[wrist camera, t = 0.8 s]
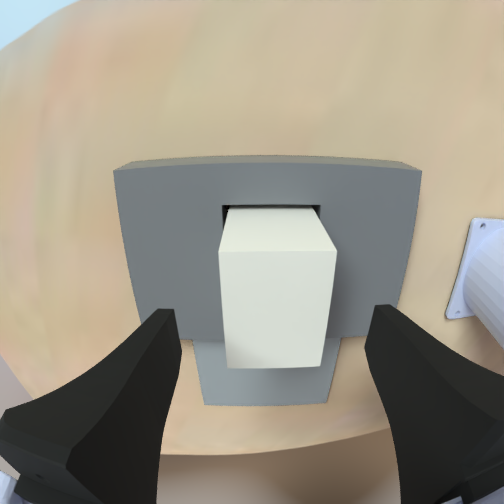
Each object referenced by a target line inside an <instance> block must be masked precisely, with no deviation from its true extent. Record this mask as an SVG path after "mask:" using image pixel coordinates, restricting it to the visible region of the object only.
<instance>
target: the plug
mask: <svg viewBox="0 0 504 504" xmlns="http://www.w3.org/2000/svg"><path fill="white" fill-rule="evenodd" d="M218 254H219V270H220V284H221V298H222V312H223V324H224V336H225V348H226V360H227V368H296V367H316V366H320V364H321V358H322V353H323V347H324V341H325V335H326V329H327V323H328V316H329V310H330V303H331V296H332V288H333V281H334V273H335V264H336V256H337V250H336V248H335V246H334V244H333V243H332V241H331V239H330V237H329V236H328V234H327V232H326V230H325V228H324V227H323V225H322V223H321V221H320V220H319V218H318V216H317V215H316V213H315V211H314V209H313V208H312V206H311V205H295V204H261V205H230V206H229V210H228V214H227V218H226V222H225V226H224V231H223V235H222V239H221V243H220V247H219V251H218Z"/></svg>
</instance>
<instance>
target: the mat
mask: <svg viewBox="0 0 504 504" xmlns="http://www.w3.org/2000/svg"><path fill="white" fill-rule="evenodd" d="M340 341H341V338H325V341H324V347H323V353H322V358H321V364H320V366H316V367H296V368H227V360H226V348H225V340H193V346H194V352H195V358H196V363H197V369H198V374H199V380H200V385H201V390H202V395H203V400H204V405H220V406H279V405H302V404H317V403H326V401H327V397H328V393H329V389H330V385H331V381H332V377H333V373H334V368H335V364H336V360H337V355H338V350H339V346H340Z"/></svg>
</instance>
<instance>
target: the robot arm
mask: <svg viewBox="0 0 504 504" xmlns="http://www.w3.org/2000/svg"><path fill="white" fill-rule="evenodd" d="M481 224H482V227H481V228H480V226H481ZM445 315H446V317H447V318H448V319H455V318H463V317H469V316H477V317H478V318H479V320H480V321H481V322H482V323H483V325H484V326H485V327H486V328H487V329H488V331H489V332H490V333H491V334H492V336H493V337H494V338H495V339H496V341H497V342H498V343H499V345H500V346H501V347H502V348H503V350H504V219H491V218H474V219H473V220H472V221H471V224H470V228H469V233H468V237H467V241H466V246H465V250H464V254H463V257H462V261H461V265H460V269H459V272H458V276H457V279H456V282H455V286H454V289H453V292H452V295H451V298H450V301H449V304H448V307H447V310H446V314H445ZM364 348H365V352H366V356H367V361H368V365H369V369H370V372H371V374H372V377H373V380H374V382H375V385H376V387H377V390H378V393H379V395H380V398H381V400H382V403H383V406H384V408H385V411H386V414H387V417H388V420H389V423H390V427H391V431H392V436H393V441H394V445H395V451H396V457H397V463H398V471H399V480H400V491H401V492H400V493H401V504H504V376H502V375H500V374H497V373H495V372H492V371H490V370H488V369H486V368H484V367H481V366H479V365H477V364H475V363H474V362H472V361H470V360H468V359H466V358H465V357H463V356H461V355H459V354H458V353H456V352H455V351H453V350H451V349H450V348H448V347H447V346H446V345H444V344H443V343H441V342H440V341H438V340H437V339H436V338H434V337H433V336H431V335H430V334H429V333H427V332H426V331H425V330H423V329H422V328H421V327H420V326H418V325H417V324H416V323H414V322H413V321H412V320H411V319H409V318H408V317H407V316H405V315H404V314H403V313H401V312H400V311H399V310H397V309H396V308H395V307H393V306H392V305H390V304H384V305H375V307H374V311H373V315H372V319H371V323H370V327H369V331H368V335H367V339H366V343H365V347H364ZM181 355H182V349H181V344H180V338H179V333H178V328H177V323H176V317H175V311H174V309H162V308H158V309H157V310H156V311H155V312H153V313H152V314H151V315H150V316H149V317H148V318H147V319H146V320H145V321H144V322H143V323H142V324H141V325H140V326H139V327H138V328H137V329H136V330H135V331H134V332H133V333H132V334H131V335H130V336H129V337H128V338H127V339H126V340H125V341H124V342H123V343H122V344H120V345H119V346H118V347H117V348H116V349H115V350H113V351H112V352H111V353H110V354H109V355H108V356H107V357H105V358H104V359H103V360H102V361H100V362H99V363H98V364H96V365H95V366H94V367H92V368H91V369H89V370H88V371H87V372H85V373H84V374H82V375H81V376H79V377H77V378H76V379H74V380H72V381H71V382H69V383H67V384H65V385H64V386H62V387H60V388H58V389H56V390H54V391H52V392H50V393H48V394H46V395H44V396H42V397H40V398H37V399H35V400H32V401H30V402H27V403H24V404H21V405H18V406H16V407H13V408H9V409H6V410H5V412H4V414H3V416H2V418H1V419H0V455H1V456H2V457H3V458H4V459H5V460H6V461H7V462H8V463H9V464H10V465H11V466H12V467H13V468H14V469H15V470H16V471H18V472H19V473H20V474H21V475H20V477H19V479H18V480H16V479H15V478H13V477H12V476H10V475H8V474H6V473H5V472H2V471H1V470H0V504H156V497H157V481H158V469H159V459H160V451H161V444H162V437H163V431H164V427H165V422H166V419H167V415H168V411H169V408H170V404H171V401H172V397H173V394H174V390H175V386H176V383H177V379H178V375H179V369H180V363H181Z"/></svg>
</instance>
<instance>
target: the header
mask: <svg viewBox="0 0 504 504" xmlns="http://www.w3.org/2000/svg"><path fill="white" fill-rule="evenodd" d="M113 173H114V182H115V190H116V197H117V205H118V212H119V218H120V225H121V231H122V237H123V242H124V248H125V253H126V258H127V264H128V269H129V273H130V278H131V283H132V287H133V292H134V296H135V301H136V305H137V309H138V313H139V317H140V321H141V324H142V323H143V322H144V321H145V320H146V319H147V318H148V317H149V316H150V315H151V314H152V313H153V312H155V311H156V310H157V309H158V308H162V309H174V311H175V317H176V323H177V328H178V333H179V338H180V339H186V340H225V336H224V324H223V312H222V298H221V284H220V270H219V254H218V251H219V247H220V243H221V239H222V235H223V231H224V226H225V222H226V218H227V205H261V204H295V205H311V206H312V208H313V209H314V211H315V213H316V215H317V216H318V218H319V220H320V221H321V223H322V225H323V227H324V228H325V230H326V232H327V234H328V236H329V237H330V239H331V241H332V243H333V244H334V246H335V248H336V250H337V256H336V264H335V273H334V281H333V288H332V296H331V303H330V310H329V316H328V323H327V329H326V335H325V338H342V337H356V336H367V335H368V331H369V327H370V323H371V319H372V315H373V311H374V307H375V305H384V304H390V305H392V306H393V307H395V308H397V304H398V300H399V296H400V292H401V288H402V284H403V280H404V276H405V271H406V267H407V262H408V257H409V252H410V247H411V242H412V237H413V231H414V226H415V220H416V213H417V207H418V200H419V192H420V184H421V176H422V171H421V170H419V169H417V168H414V167H412V166H410V165H407V164H405V163H402V162H396V161H385V160H373V159H359V158H343V157H323V156H286V155H247V156H210V157H189V158H173V159H159V160H147V161H136V162H130V163H128V164H126V165H124V166H122V167H120V168H118V169H115V170H113Z"/></svg>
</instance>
